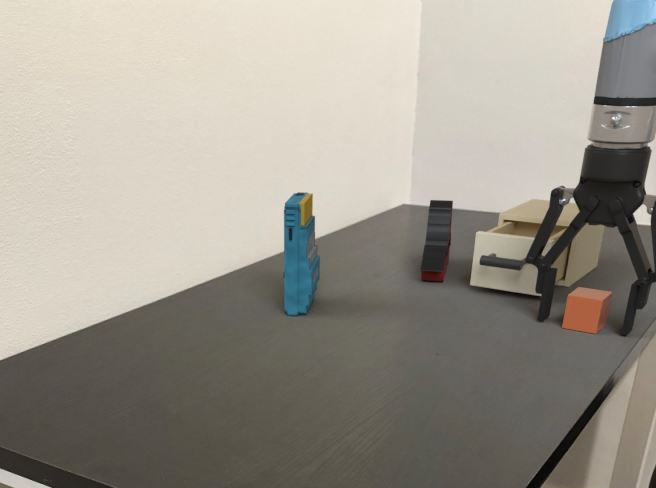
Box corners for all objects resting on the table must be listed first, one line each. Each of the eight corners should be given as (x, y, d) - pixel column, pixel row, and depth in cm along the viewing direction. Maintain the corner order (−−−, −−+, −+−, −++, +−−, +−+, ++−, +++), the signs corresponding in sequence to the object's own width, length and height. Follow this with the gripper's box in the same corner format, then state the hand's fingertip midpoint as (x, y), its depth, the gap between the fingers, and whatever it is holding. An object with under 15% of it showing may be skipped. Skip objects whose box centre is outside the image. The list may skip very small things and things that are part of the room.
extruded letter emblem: (429, 258, 139) (435, 190, 133) (449, 258, 138) (456, 191, 132) (419, 286, 124) (425, 211, 118) (441, 287, 123) (448, 212, 117)
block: (605, 324, 107) (612, 291, 104) (595, 334, 103) (602, 300, 101) (572, 319, 109) (578, 286, 106) (561, 328, 106) (567, 294, 103)
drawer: (533, 304, 112) (542, 247, 108) (458, 291, 118) (464, 237, 114) (572, 275, 124) (582, 224, 120) (503, 266, 130) (509, 216, 126)
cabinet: (568, 287, 122) (580, 222, 117) (491, 275, 129) (499, 213, 124) (596, 266, 132) (608, 206, 127) (523, 256, 139) (532, 198, 134)
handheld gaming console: (293, 296, 120) (292, 191, 112) (319, 297, 120) (321, 192, 112) (281, 316, 112) (280, 204, 104) (310, 317, 111) (311, 205, 104)
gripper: (515, 142, 98) (491, 317, 109) (717, 153, 86) (667, 349, 98) (536, 135, 103) (512, 304, 114) (730, 146, 91) (681, 332, 103)
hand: (583, 324), depth 106 cm, fingers open, 10 cm apart
